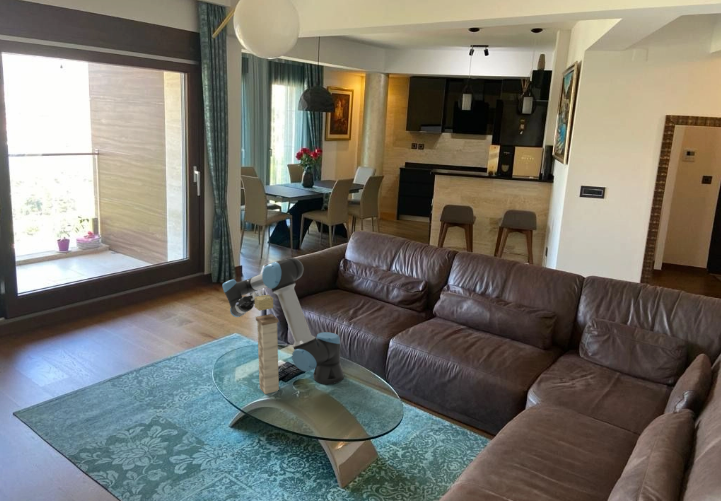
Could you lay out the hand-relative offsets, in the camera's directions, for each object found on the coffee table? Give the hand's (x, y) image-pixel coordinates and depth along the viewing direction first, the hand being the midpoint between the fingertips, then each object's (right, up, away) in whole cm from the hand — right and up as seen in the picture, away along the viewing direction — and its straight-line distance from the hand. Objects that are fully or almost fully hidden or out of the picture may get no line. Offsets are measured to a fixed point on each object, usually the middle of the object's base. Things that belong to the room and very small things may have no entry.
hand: (258, 294), depth 259 cm
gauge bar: (0, -4, +1) cm, 5 cm away
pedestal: (+4, -46, +3) cm, 46 cm away
